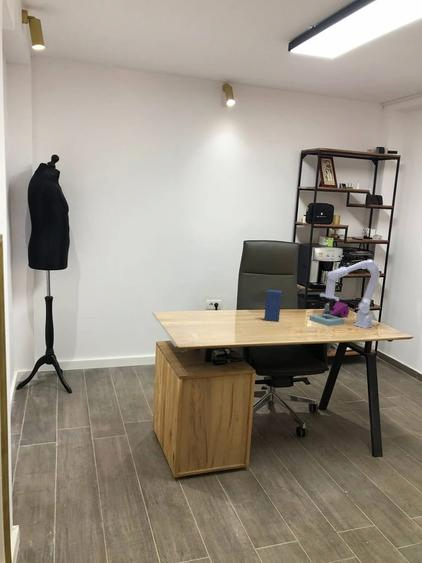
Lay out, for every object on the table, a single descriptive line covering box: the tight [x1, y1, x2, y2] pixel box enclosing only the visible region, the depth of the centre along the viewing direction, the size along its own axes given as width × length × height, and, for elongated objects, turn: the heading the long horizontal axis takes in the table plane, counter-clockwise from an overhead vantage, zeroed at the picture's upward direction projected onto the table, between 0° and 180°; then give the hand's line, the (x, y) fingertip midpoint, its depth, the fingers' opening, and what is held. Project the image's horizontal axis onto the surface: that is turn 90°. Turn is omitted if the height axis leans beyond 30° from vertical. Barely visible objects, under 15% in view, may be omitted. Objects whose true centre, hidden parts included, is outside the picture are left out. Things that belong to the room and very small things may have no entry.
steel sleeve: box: [323, 301, 331, 314], centre depth 309 cm, size 4×4×7 cm
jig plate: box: [309, 313, 345, 327], centre depth 311 cm, size 16×16×3 cm
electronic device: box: [263, 289, 283, 322], centre depth 303 cm, size 10×5×20 cm, turn 84°
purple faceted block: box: [322, 301, 350, 319], centre depth 329 cm, size 9×8×18 cm
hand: (328, 309), depth 310 cm, fingers closed on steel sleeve, 4 cm apart
